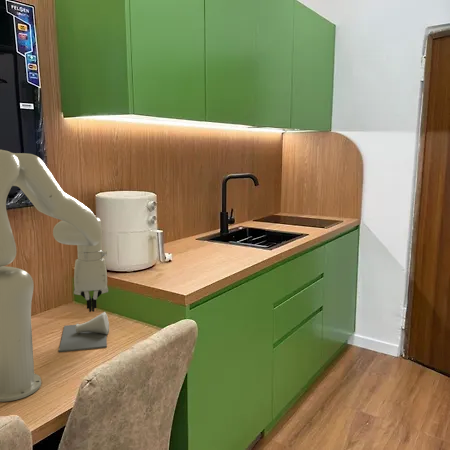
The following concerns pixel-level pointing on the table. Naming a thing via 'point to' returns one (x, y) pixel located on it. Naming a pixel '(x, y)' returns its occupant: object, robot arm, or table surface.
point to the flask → (95, 325)
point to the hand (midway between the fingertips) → (91, 310)
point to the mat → (81, 340)
